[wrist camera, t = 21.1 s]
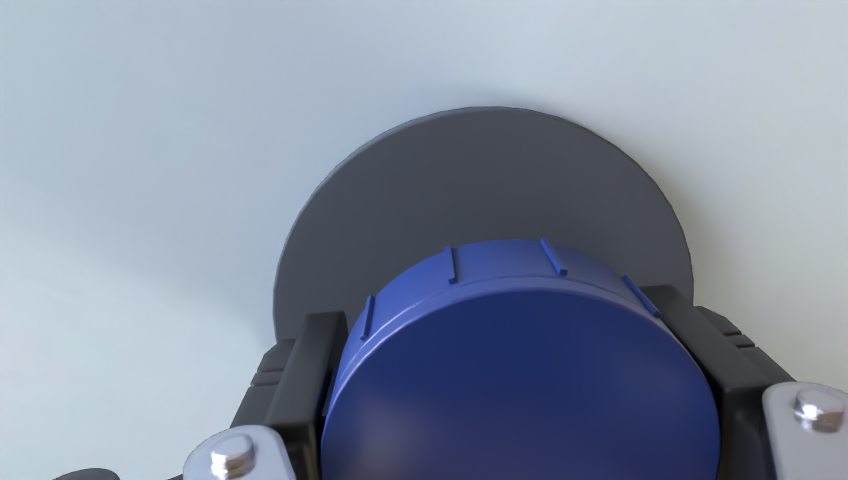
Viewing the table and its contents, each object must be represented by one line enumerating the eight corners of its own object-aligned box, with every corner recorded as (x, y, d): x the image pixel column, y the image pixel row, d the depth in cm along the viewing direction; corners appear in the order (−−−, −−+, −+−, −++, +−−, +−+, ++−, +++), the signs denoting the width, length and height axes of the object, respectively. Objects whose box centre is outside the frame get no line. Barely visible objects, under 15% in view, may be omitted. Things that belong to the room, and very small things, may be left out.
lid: (423, 178, 8) (424, 216, 7) (732, 320, 9) (806, 387, 8) (289, 456, 10) (262, 545, 8) (562, 556, 11) (590, 656, 9)
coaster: (556, 520, 15) (561, 536, 14) (222, 397, 13) (214, 410, 13) (767, 219, 12) (782, 226, 12) (376, 24, 11) (375, 23, 10)
